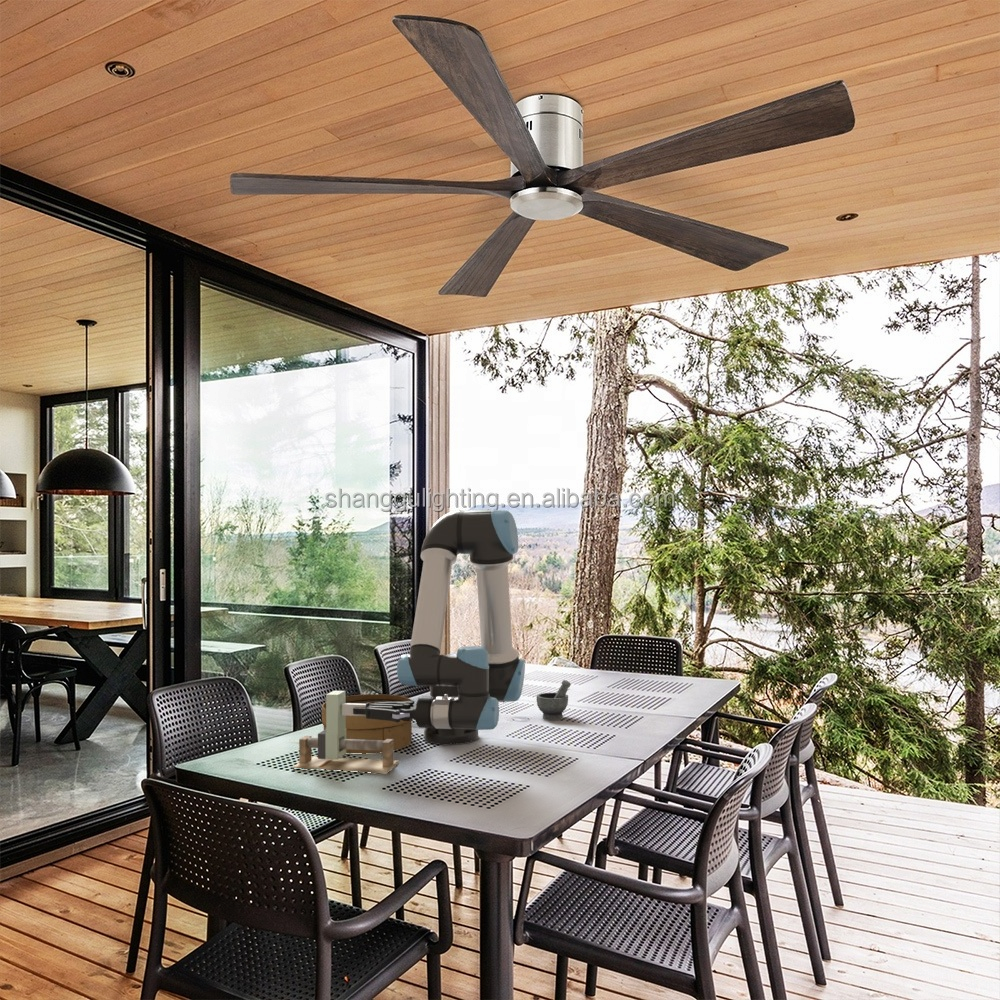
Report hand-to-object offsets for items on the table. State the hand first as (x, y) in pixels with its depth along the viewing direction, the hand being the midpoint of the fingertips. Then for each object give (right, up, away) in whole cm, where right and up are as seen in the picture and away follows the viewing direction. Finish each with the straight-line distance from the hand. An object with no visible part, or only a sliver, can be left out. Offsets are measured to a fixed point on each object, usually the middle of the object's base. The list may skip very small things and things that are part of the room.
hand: (342, 709), depth 197 cm
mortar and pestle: (+56, -16, +49) cm, 76 cm away
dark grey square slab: (-4, -12, 0) cm, 12 cm away
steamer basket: (+3, -15, +22) cm, 27 cm away
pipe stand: (+1, -14, -1) cm, 14 cm away
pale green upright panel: (-2, -12, 0) cm, 12 cm away
